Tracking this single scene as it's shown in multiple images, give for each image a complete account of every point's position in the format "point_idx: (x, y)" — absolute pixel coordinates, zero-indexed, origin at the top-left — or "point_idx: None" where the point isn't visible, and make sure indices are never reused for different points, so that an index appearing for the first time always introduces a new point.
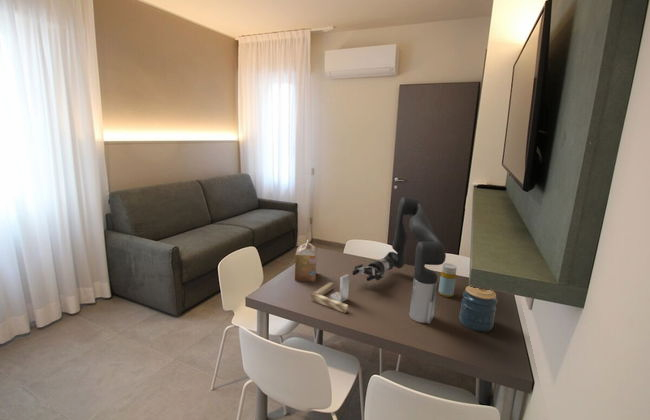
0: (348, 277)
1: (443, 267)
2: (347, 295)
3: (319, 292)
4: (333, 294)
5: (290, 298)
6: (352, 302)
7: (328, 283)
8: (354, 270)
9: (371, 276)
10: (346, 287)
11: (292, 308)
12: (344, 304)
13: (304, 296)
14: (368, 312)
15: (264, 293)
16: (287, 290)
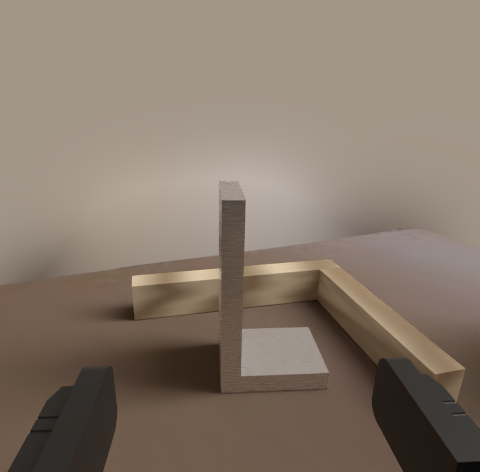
0: (221, 216)
1: None
2: (221, 362)
3: (329, 279)
4: (304, 339)
5: (375, 263)
6: (165, 385)
7: (435, 349)
8: (415, 377)
9: (44, 448)
10: (220, 287)
11: (302, 248)
12: (149, 281)
13: (372, 288)
14: (10, 373)
15: (442, 244)
16: (455, 278)
